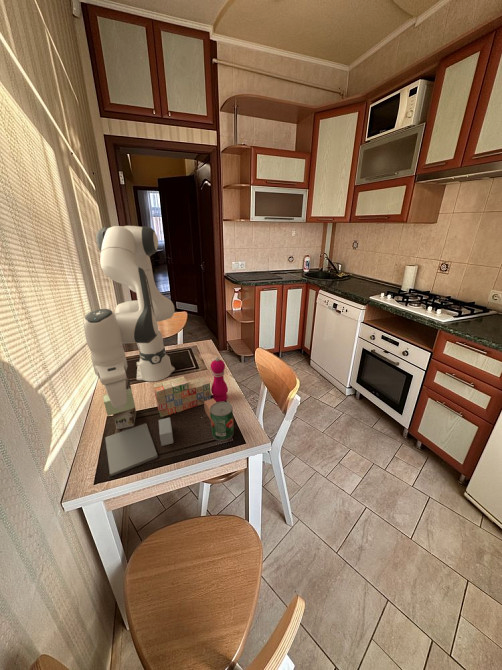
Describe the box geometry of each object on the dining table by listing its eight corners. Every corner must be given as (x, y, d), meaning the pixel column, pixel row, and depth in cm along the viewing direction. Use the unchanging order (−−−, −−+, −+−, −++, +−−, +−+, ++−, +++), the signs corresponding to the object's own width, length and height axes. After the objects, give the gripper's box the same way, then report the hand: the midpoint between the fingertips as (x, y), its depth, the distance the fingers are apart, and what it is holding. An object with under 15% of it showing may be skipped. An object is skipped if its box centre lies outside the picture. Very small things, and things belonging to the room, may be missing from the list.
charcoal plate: (105, 439, 97) (105, 437, 96) (146, 425, 103) (146, 423, 103) (110, 476, 82) (109, 474, 82) (157, 457, 89) (157, 455, 88)
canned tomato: (209, 428, 101) (207, 404, 97) (230, 423, 103) (228, 399, 99) (215, 443, 94) (212, 417, 90) (236, 437, 96) (235, 412, 92)
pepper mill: (214, 405, 114) (211, 362, 106) (209, 395, 120) (206, 355, 113) (230, 400, 117) (228, 359, 109) (225, 391, 123) (222, 352, 115)
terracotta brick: (212, 423, 104) (211, 412, 102) (205, 411, 110) (204, 401, 108) (222, 419, 106) (221, 408, 104) (214, 408, 112) (213, 398, 110)
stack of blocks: (206, 394, 121) (204, 370, 117) (211, 401, 116) (209, 376, 112) (157, 409, 112) (153, 383, 108) (160, 417, 107) (155, 391, 102)
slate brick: (161, 446, 93) (159, 434, 91) (160, 430, 100) (158, 420, 98) (173, 443, 95) (171, 431, 93) (171, 428, 102) (169, 417, 100)
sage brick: (106, 408, 86) (103, 395, 84) (133, 401, 90) (130, 388, 88) (107, 416, 83) (103, 402, 81) (135, 407, 87) (132, 394, 85)
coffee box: (134, 426, 103) (126, 390, 97) (116, 430, 101) (106, 393, 95) (136, 411, 111) (129, 377, 105) (119, 414, 109) (111, 380, 103)
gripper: (96, 353, 87) (106, 390, 92) (100, 383, 71) (112, 425, 76) (118, 349, 90) (125, 385, 95) (126, 376, 74) (135, 417, 79)
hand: (119, 403), depth 86 cm, fingers closed on sage brick, 4 cm apart
